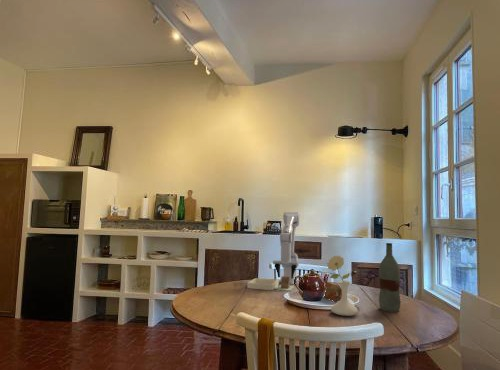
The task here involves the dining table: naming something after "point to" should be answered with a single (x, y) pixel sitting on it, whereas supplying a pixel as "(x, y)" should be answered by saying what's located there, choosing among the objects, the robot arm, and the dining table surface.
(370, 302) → the dining table surface
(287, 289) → the mat
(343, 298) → the flower in vase
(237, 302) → the dining table surface
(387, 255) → the bottle
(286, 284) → the block
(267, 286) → the cream tray
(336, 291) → the tin
